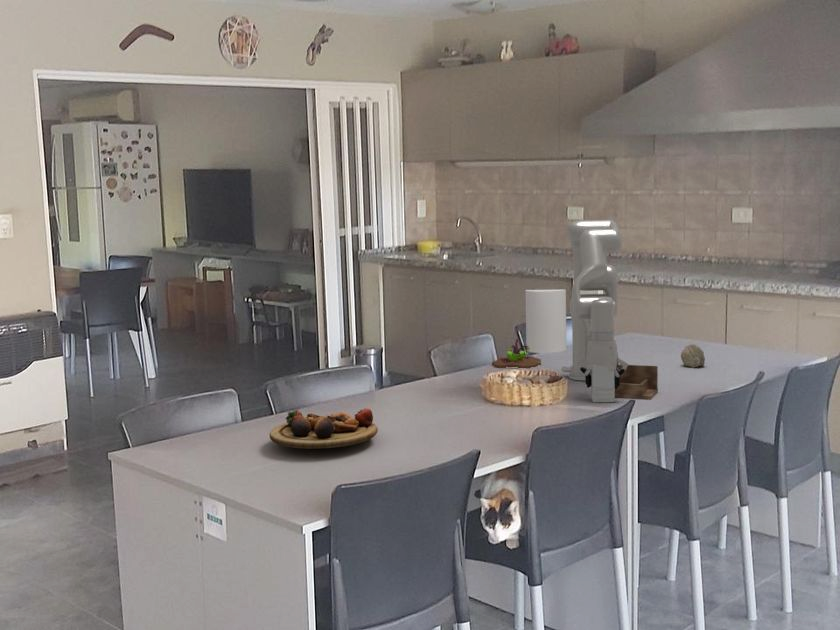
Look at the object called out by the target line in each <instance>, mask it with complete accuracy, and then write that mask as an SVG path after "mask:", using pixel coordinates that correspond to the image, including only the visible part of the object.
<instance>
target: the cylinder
mask: <svg viewBox="0 0 840 630" xmlns="http://www.w3.org/2000/svg"><path fill="white" fill-rule="evenodd" d="M566 296H567V289H525V331H526V332H525V333H526V334H525V338H526V339H525V340H526V341H525V342H526V345H525V346H528V347H529V348H530V349H529V350H527V349H526V350H525V351H526V352H527V353H532V354H533V353H534V354H556V353H557V352H558V353H562V352H561V351H563V352H565V351H567V301H566V300H567V297H566ZM564 350H565V351H564ZM558 353H557V354H558Z"/></svg>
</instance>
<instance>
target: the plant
mask: <svg viewBox="0 0 840 630" xmlns="http://www.w3.org/2000/svg"><path fill="white" fill-rule="evenodd" d="M519 342H520V340H519V339H518V338H516V339H515V342H514V343H515V344H514V345H510V347H509V348H508V351H507V353H504V354H505V357H499V358H497V359H496V360H493V361H492V362H491V366H493V368H496V369H507V368H506V367H518V368H526V369H532V368H531V367H536V368H537V367H539V366H538V365H540V366H541V365H542V360H541V359H540V358H538V357H534V355H529V354H530V352H527V353H526V351H527V350H529V349H530V348H529V347H528V346H526V345H522V346H521V347H518V346H519V345H518V343H519ZM524 348H526V349H527V350H522V349H524ZM518 368H517V369H518Z"/></svg>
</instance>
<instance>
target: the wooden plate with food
mask: <svg viewBox="0 0 840 630" xmlns="http://www.w3.org/2000/svg"><path fill="white" fill-rule="evenodd" d="M285 420H286V422H285V423H282V424H279V425H277V426H275V427H273V428H272V429H271V430H270V432H269V439H270V440H271V442H273V443H275V444H277V445H278V446H283V447H287V448H294V449H295V448H296V449H310V450H311V449H331V448H341V447H348V446H353V445H356V444H360V443H363V442H366V441H369V440H371V439H373V438H374V437H376V435H377V433H378V430H379V429H378V426H377V424H375V423H374V422H373V421H374V415H373V411H372V410H371V409H370V408H363V409H359V411H357V412H356V413H355V414H354V417H352V416H351V415H350V414H349V413H347V412H343V411H340V412H336V413H332V414H330V415H319V414H314V413H307V415H306V416H303V413H302V412H301V411H299V409H294V410H293V411H288V412H287V416H286V417H285Z"/></svg>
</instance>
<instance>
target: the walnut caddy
mask: <svg viewBox="0 0 840 630" xmlns="http://www.w3.org/2000/svg"><path fill="white" fill-rule="evenodd" d="M658 367H659V366H658V365H645V364H644V365H640V364H628V367H627V369H626V370H625V372H624V373H623V374H622V375H621V376H620V386H618V388H617V389H615V399H617V398H618V399H637V400H652V399H653V398H654V397H655V396H656V395H657V393H658V392H659V387H658V386H659V385H658V380H659V379H658V376H659V375H658V374H659V372H658ZM622 368H623V366H622V365H621V364H619V363H618V368H617V369H618V370H619V371H620V370H621V369H622ZM614 377H615V374H614Z"/></svg>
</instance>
